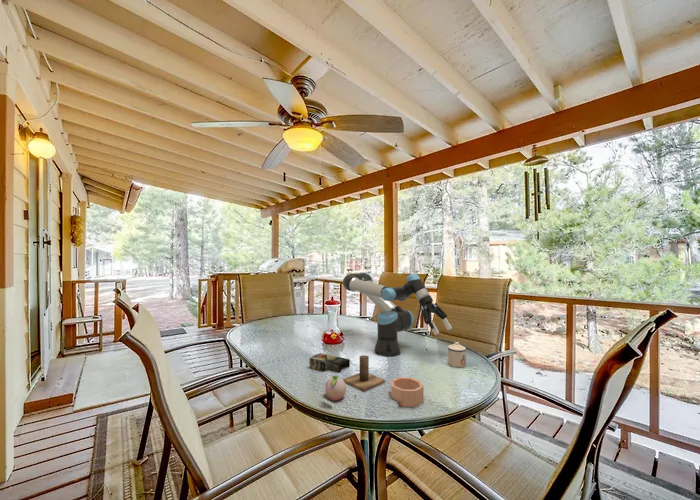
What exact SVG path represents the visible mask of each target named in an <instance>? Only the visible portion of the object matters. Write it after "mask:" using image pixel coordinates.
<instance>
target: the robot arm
mask: <svg viewBox="0 0 700 500" xmlns="http://www.w3.org/2000/svg"><path fill="white" fill-rule="evenodd" d="M342 285H343V288H344V289H345V290H347V291H350V292H353V293H355V292H359V293H360V295H364V296H366V297H367V298H368V299H369V300H370V301H371V302H372V303H373V304H374V305H375V306H377V308H379V310H381V312H380V313H378V314H377V320H376V321H377V325H376V326H377V340H376V343H375V346H374V353H375V354H376V355H378V356H381V357H395V356H400V354H401V347H400V344H399V341H398V333H399V332H403V331H407V330H409V329H411V328H412V327H413V326H414V324H415V317H414V314H413V313H412V311H410V310H408V309H404V308H402V307H401V306H400V305H396V304H395V303H393V301H400V302H404V301H406V300H407V299H408V298H410V297H411V296H412V295H414V296H415V297H416V300H417V301H418V303H419V305H420V306H421V307H420V310H421V313H422V317H423V322H424V324H425V325H428V326H429V328H430V329H431V331H432V333H433V335H434V336H437V335H438V334H440V332H439V330H438V328H437V326H436V324H435V323H434V321H432V314H435V315H436V316H437V317H439V318H440V319H441V321H442V324H443V325H444V327H445V328H446V330H447V331H451V330H452V329H453V327H452V325H451V324H450V322H449V321H448V315H447V313H446V312H445V311H444V310H443V309H442V308H441V307H440V306H439V304H438V303H437V302H434V300H433V298H432V296H431V295H430V293H429V291H428V289H427V288H426V286H425V284H424V283H423V281H422V279H421V278H420V276H419V275H418V273H417V272H415V273H411V274H409V275H408V276H407V277H406V283H404V284H403V285H401V286H394V287H392V286H391V287H390V286H388V285H383V284H379V283H375V282H374V280H373V277H372V276H371V274H369V273H367V272H360V273H359V272H358V273H348V274H347V275H345V276H344V277H343V280H342ZM433 302H434V303H433Z"/></svg>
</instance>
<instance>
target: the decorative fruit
mask: <svg viewBox="0 0 700 500" xmlns="http://www.w3.org/2000/svg"><path fill="white" fill-rule="evenodd" d="M346 392H347V384H345V382H344V381H343V379H342V378H340V377H339V376H338V375H333V376H332V377H330V378H329V379H327V381H326V382H325V395H326V396H327V398H328V399H329V400H330V401H340V400H341V399H342V398H343V397H344V396H345V395H346Z"/></svg>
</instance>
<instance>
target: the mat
mask: <svg viewBox="0 0 700 500" xmlns="http://www.w3.org/2000/svg"><path fill="white" fill-rule="evenodd" d="M345 384H346V386H350V387H351V388H353V389H355V390H358V391H359V392H362V393H367V392H369V391H371V390H373V389H376V388H379V387H381V386H383V385H385V384H387V382H386V381H385V383H383V384H381V385H379V386H376V387H374V388H372V389H370V390H367V391H365V392H363V391H361V390H359V389H357V388H355V387H353V386H351V385H349V384H347V383H345Z"/></svg>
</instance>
